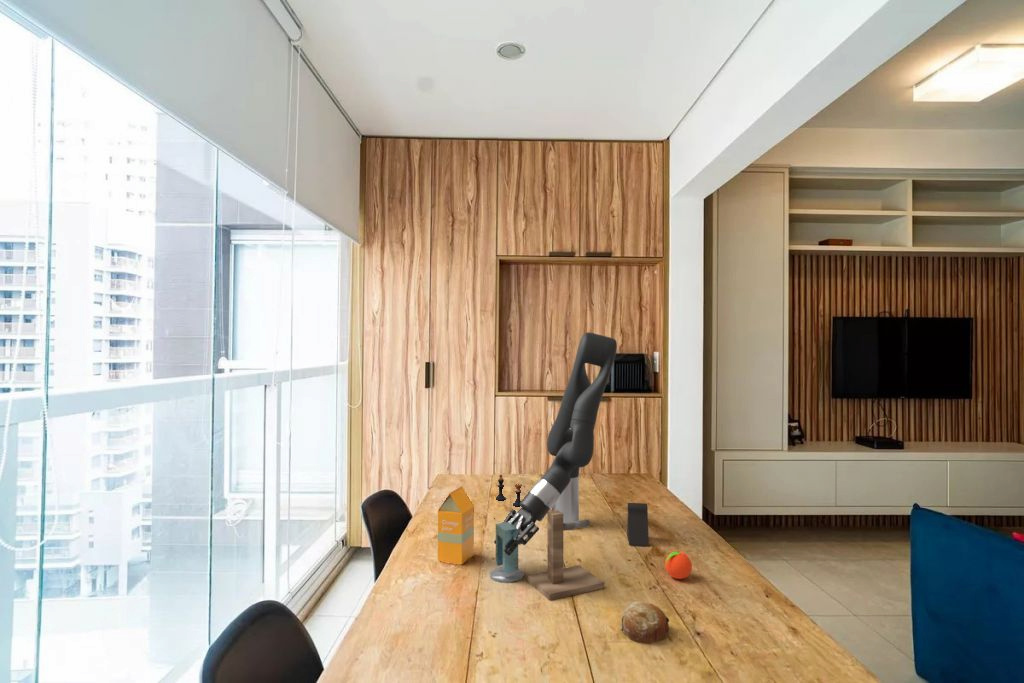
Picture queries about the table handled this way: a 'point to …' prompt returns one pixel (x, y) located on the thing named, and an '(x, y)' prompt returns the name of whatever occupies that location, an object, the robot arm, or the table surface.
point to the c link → (503, 538)
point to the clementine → (678, 565)
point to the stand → (557, 578)
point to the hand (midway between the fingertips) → (501, 548)
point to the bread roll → (644, 622)
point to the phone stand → (637, 524)
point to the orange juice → (456, 528)
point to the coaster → (506, 575)
